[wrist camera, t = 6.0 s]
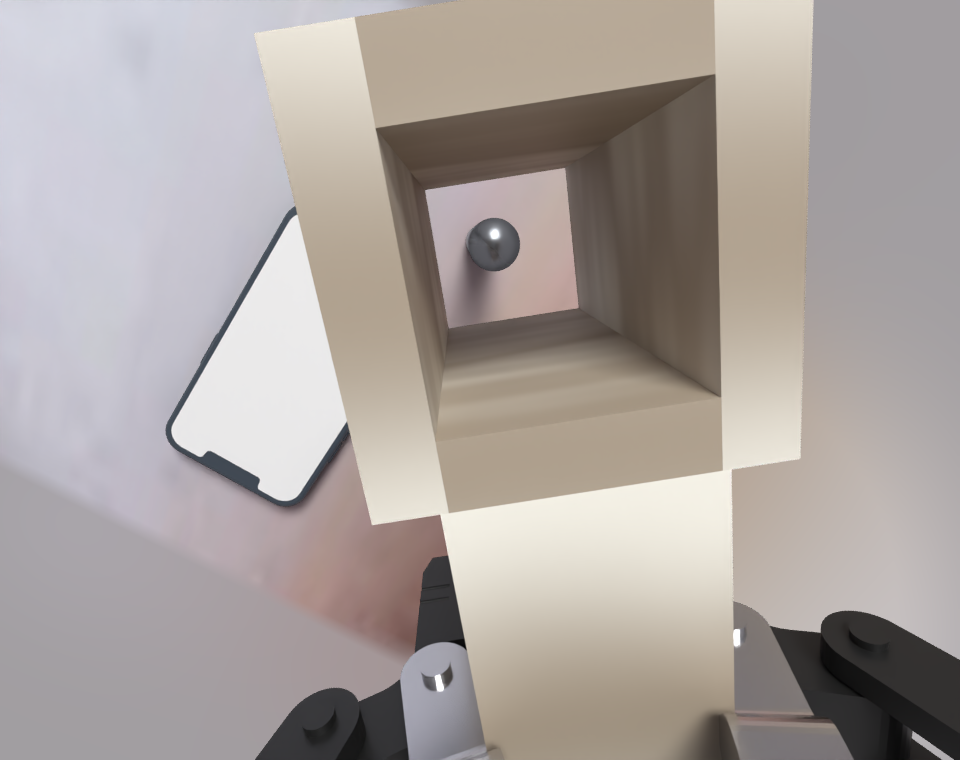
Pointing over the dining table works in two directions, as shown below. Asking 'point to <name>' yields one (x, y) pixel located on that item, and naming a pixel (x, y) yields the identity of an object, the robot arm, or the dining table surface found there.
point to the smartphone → (267, 383)
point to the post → (493, 244)
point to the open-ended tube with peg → (568, 330)
